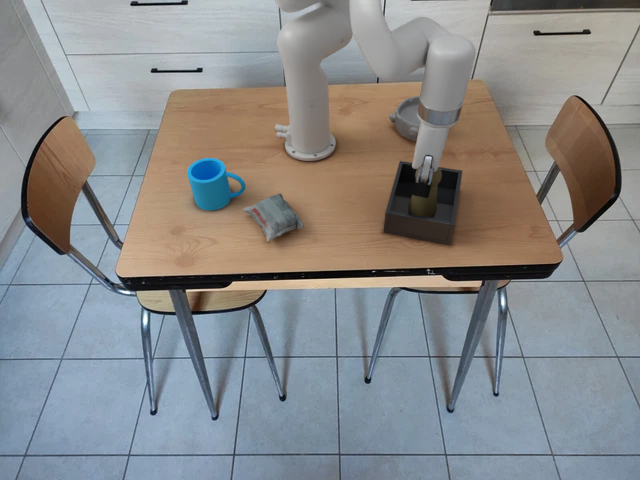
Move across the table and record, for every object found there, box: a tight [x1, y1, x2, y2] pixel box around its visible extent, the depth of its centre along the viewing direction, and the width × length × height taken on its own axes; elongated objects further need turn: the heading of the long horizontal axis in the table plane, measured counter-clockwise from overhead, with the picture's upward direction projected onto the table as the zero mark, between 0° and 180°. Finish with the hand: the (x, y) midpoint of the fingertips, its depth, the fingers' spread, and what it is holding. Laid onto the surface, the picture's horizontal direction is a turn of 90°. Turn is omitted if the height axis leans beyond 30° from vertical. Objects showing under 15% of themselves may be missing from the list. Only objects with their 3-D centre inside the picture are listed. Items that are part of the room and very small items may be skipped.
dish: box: [388, 95, 421, 142], centre depth 124 cm, size 14×14×5 cm
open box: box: [382, 160, 463, 246], centre depth 104 cm, size 14×17×6 cm
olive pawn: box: [408, 164, 442, 217], centre depth 101 cm, size 6×6×11 cm
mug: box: [186, 157, 247, 211], centre depth 107 cm, size 12×8×8 cm
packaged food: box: [242, 192, 305, 244], centre depth 103 cm, size 9×12×5 cm
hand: (423, 179), depth 100 cm, fingers open, 9 cm apart
